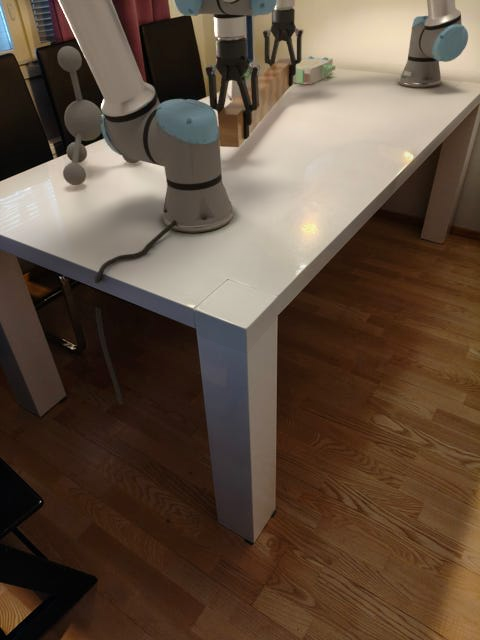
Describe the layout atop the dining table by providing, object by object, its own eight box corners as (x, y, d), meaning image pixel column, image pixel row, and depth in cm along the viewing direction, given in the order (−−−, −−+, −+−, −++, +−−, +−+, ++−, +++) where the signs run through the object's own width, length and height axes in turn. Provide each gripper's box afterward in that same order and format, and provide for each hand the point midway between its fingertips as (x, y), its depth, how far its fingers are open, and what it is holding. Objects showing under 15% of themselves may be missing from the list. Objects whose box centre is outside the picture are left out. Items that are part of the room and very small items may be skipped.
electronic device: (231, 100, 184) (226, 7, 166) (227, 96, 190) (221, 5, 172) (263, 96, 187) (261, 4, 168) (257, 92, 192) (255, 2, 174)
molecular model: (153, 175, 128) (132, 46, 109) (67, 191, 122) (30, 58, 104) (135, 149, 145) (114, 34, 127) (59, 162, 140) (26, 43, 121)
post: (238, 147, 125) (237, 114, 120) (219, 146, 126) (217, 114, 121) (293, 83, 178) (293, 58, 173) (279, 83, 179) (279, 58, 174)
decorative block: (301, 54, 217) (341, 57, 207) (300, 70, 221) (340, 74, 211) (269, 65, 201) (312, 69, 191) (269, 82, 205) (311, 87, 195)
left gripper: (271, 34, 116) (272, 134, 130) (200, 35, 121) (208, 131, 135) (264, 39, 111) (265, 143, 125) (189, 40, 115) (199, 140, 129)
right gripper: (312, 6, 160) (310, 83, 174) (259, 7, 164) (260, 82, 179) (308, 9, 154) (306, 88, 168) (253, 10, 159) (255, 87, 173)
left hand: (236, 136), depth 130 cm, fingers closed on post, 5 cm apart
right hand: (282, 85), depth 173 cm, fingers closed on post, 5 cm apart
